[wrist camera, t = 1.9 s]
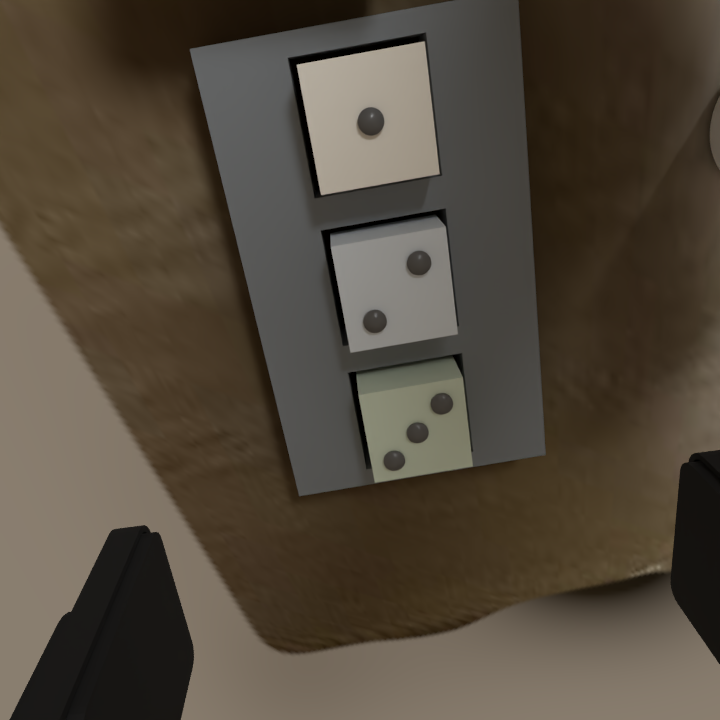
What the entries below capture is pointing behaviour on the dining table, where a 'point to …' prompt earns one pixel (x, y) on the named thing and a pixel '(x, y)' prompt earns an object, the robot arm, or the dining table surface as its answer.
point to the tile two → (394, 282)
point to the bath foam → (715, 133)
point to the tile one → (370, 117)
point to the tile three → (415, 418)
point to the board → (436, 192)
